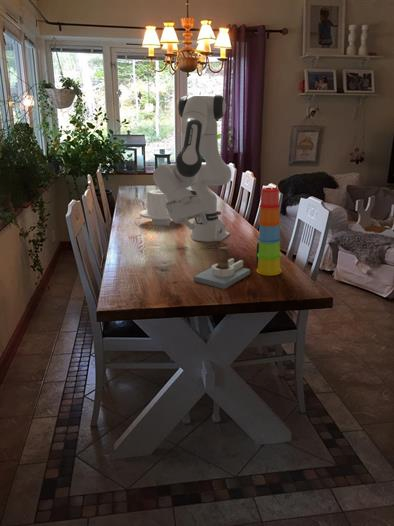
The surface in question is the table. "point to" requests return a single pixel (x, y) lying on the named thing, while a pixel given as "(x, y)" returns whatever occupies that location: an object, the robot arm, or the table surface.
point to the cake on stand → (157, 208)
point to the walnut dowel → (223, 257)
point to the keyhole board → (221, 280)
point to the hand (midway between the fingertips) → (199, 226)
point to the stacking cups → (269, 233)
